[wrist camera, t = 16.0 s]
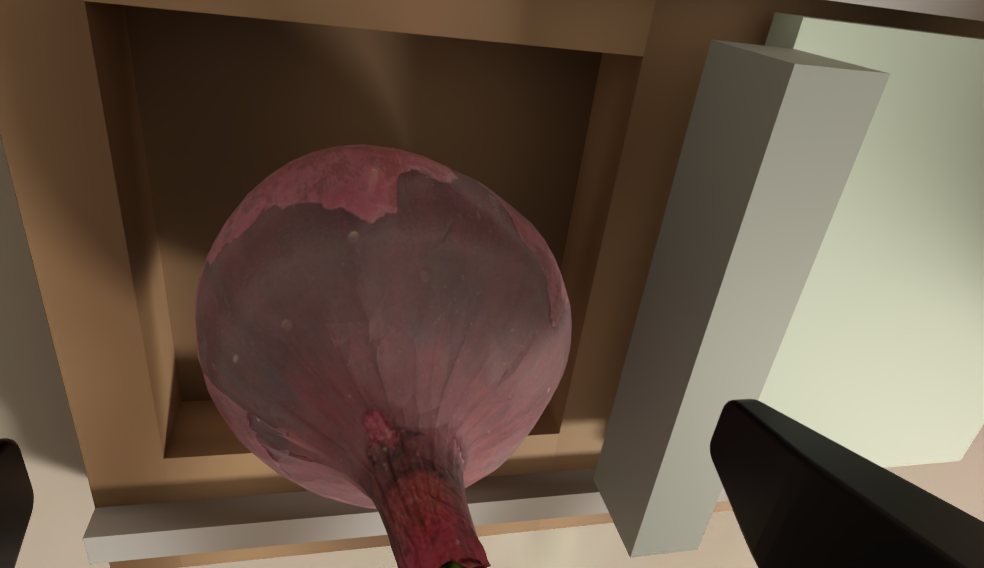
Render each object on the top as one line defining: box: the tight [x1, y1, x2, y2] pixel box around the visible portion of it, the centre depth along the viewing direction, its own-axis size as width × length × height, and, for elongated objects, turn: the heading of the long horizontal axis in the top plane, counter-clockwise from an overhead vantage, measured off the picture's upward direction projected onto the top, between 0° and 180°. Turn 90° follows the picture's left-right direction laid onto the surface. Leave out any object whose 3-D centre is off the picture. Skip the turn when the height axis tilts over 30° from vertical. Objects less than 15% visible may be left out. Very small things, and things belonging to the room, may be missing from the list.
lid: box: [593, 12, 984, 557], centre depth 13 cm, size 12×11×3 cm
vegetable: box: [195, 144, 572, 568], centre depth 10 cm, size 6×6×10 cm
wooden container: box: [0, 0, 984, 568], centre depth 14 cm, size 19×16×3 cm
